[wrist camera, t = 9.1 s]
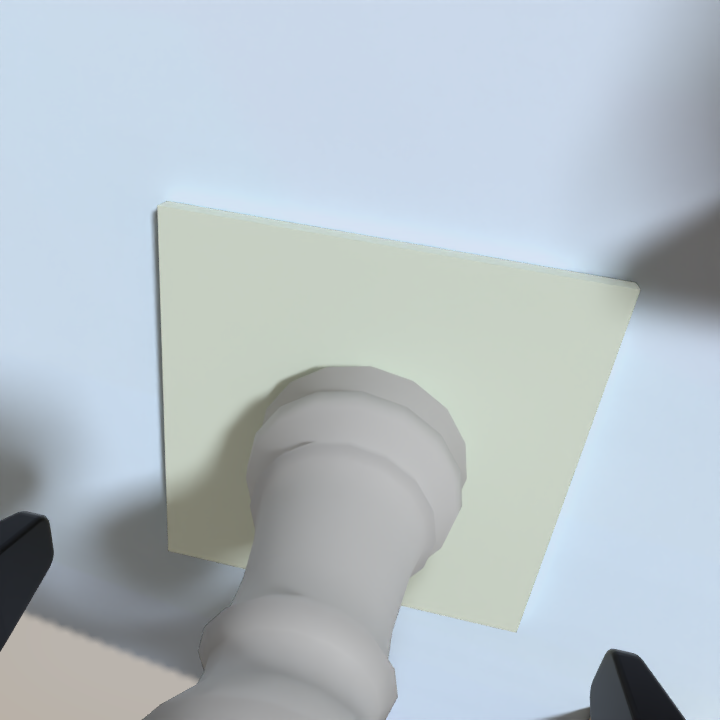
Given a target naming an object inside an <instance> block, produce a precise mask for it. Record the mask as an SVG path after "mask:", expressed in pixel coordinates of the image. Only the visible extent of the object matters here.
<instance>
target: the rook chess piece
mask: <svg viewBox="0 0 720 720" xmlns="http://www.w3.org/2000/svg"><path fill="white" fill-rule="evenodd" d="M466 480H467V471H466V443H465V442H464V440H463V438H462V436H461V434H460V432H459V430H458V428H457V426H456V425H455V423H454V421H453V419H452V417H451V415H450V413H449V411H448V409H447V408H446V407H444V406H443V405H442V404H441V403H440V402H438V401H437V400H436V399H435V398H433V397H432V396H431V395H430V394H429V393H427V392H426V391H425V390H424V389H423V388H421V387H420V386H419V385H418V384H416V383H415V382H414V381H412V380H409V379H406V378H403V377H400V376H398V375H395V374H392V373H389V372H386V371H383V370H380V369H378V368H375V367H372V366H344V367H325V368H323V369H321V370H318V371H316V372H313V373H311V374H309V375H306V376H304V377H301V378H299V379H297V380H294V381H292V382H290V383H289V384H288V385H287V386H286V388H285V389H284V390H283V391H282V392H281V393H280V394H279V395H278V396H277V397H276V399H275V400H274V401H273V402H272V403H271V404H270V405H269V406H268V407H267V409H266V413H265V416H264V420H263V424H262V427H261V428H260V429H259V430H258V431H257V432H256V434H255V438H254V442H253V446H252V450H251V454H250V458H249V462H248V465H247V474H246V481H247V485H248V490H249V494H250V499H251V503H250V509H251V514H252V518H253V523H254V527H255V535H254V541H253V544H252V548H251V552H250V555H249V559H248V562H247V566H246V570H245V573H244V577H243V580H242V582H241V584H240V586H239V588H238V591H237V593H236V595H235V597H234V599H233V601H232V604H231V606H229V607H227V608H225V609H224V610H223V611H222V612H220V613H219V614H218V615H217V616H216V617H215V618H214V619H213V620H211V621H210V622H209V623H208V624H207V625H206V626H205V627H204V630H203V634H202V638H201V642H200V646H199V650H198V653H199V656H200V659H201V663H202V666H203V669H204V673H203V675H202V677H201V678H200V680H199V681H198V683H197V685H195V686H193V687H191V688H189V689H188V690H186V691H184V692H182V693H180V694H179V695H177V696H175V697H173V698H171V699H170V700H168V701H166V702H164V703H162V704H161V705H159V706H158V707H157V708H156V709H155V710H153V711H152V712H151V713H150V714H149V715H147V716H146V717H145V718H144V719H142V720H386V718H387V716H388V714H389V712H390V710H391V709H392V707H393V705H394V703H395V701H396V699H397V697H398V695H397V686H396V677H395V669H394V668H393V666H392V665H391V663H390V662H389V660H388V656H389V650H390V644H391V637H392V631H393V628H394V625H395V622H396V618H397V615H398V612H399V609H400V606H401V603H402V600H403V597H404V594H405V591H406V588H407V585H408V582H409V579H410V577H412V576H413V575H414V574H416V573H417V572H418V571H420V570H421V569H422V568H424V566H425V564H426V562H427V559H428V558H429V557H430V556H431V555H433V554H434V553H435V552H437V551H438V550H439V549H441V547H442V545H443V543H444V542H445V540H446V538H447V536H448V534H449V532H450V530H451V528H452V526H453V524H454V522H455V520H456V518H457V516H458V514H459V512H460V510H461V508H462V488H463V486H464V484H465V482H466Z"/></svg>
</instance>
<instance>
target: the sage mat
mask: <svg viewBox="0 0 720 720" xmlns="http://www.w3.org/2000/svg"><path fill="white" fill-rule="evenodd" d="M157 210H158V242H159V274H160V306H161V338H162V370H163V402H164V434H165V466H166V498H167V530H168V551H171V552H175V553H179V554H183V555H188V556H192V557H196V558H200V559H205V560H209V561H213V562H217V563H222V564H226V565H230V566H235V567H239V568H243V569H246V566H247V562H248V559H249V555H250V552H251V548H252V544H253V541H254V535H255V527H254V523H253V518H252V514H251V509H250V503H251V499H250V494H249V490H248V485H247V481H246V474H247V465H248V462H249V458H250V454H251V450H252V446H253V442H254V438H255V434H256V432H257V431H258V430H259V429H260V428H261V427H262V424H263V420H264V416H265V413H266V409H267V407H268V406H269V405H270V404H271V403H272V402H273V401H274V400H275V399H276V397H277V396H278V395H279V394H280V393H281V392H282V391H283V390H284V389H285V388H286V386H287V385H288V384H289V383H290V382H292V381H294V380H297V379H299V378H301V377H304V376H306V375H309V374H311V373H313V372H316V371H318V370H321V369H323V368H325V367H344V366H372V367H375V368H378V369H380V370H383V371H386V372H389V373H392V374H395V375H398V376H400V377H403V378H406V379H409V380H412V381H414V382H415V383H416V384H418V385H419V386H420V387H421V388H423V389H424V390H425V391H426V392H427V393H429V394H430V395H431V396H432V397H433V398H435V399H436V400H437V401H438V402H440V403H441V404H442V405H443V406H444V407H446V408H447V409H448V411H449V413H450V415H451V417H452V419H453V421H454V423H455V425H456V426H457V428H458V430H459V432H460V434H461V436H462V438H463V440H464V442H465V443H466V471H467V480H466V482H465V484H464V486H463V488H462V508H461V510H460V512H459V514H458V516H457V518H456V520H455V522H454V524H453V526H452V528H451V530H450V532H449V534H448V536H447V538H446V540H445V542H444V543H443V545H442V547H441V549H439V550H438V551H437V552H435V553H434V554H433V555H431V556H430V557H429V558H428V559H427V562H426V564H425V566H424V568H422V569H421V570H420V571H418V572H417V573H416V574H414V575H413V576H412V577H410V579H409V582H408V585H407V588H406V591H405V594H404V597H403V600H402V603H401V606H405V607H409V608H414V609H418V610H422V611H426V612H431V613H435V614H439V615H443V616H448V617H452V618H456V619H460V620H465V621H469V622H473V623H478V624H482V625H486V626H490V627H495V628H499V629H503V630H507V631H512V632H517V630H518V627H519V624H520V621H521V618H522V616H523V613H524V610H525V607H526V605H527V602H528V599H529V596H530V594H531V591H532V588H533V585H534V583H535V580H536V577H537V574H538V572H539V569H540V566H541V563H542V561H543V558H544V555H545V552H546V549H547V547H548V544H549V541H550V538H551V536H552V533H553V530H554V527H555V525H556V522H557V519H558V516H559V514H560V511H561V508H562V505H563V503H564V500H565V497H566V494H567V492H568V489H569V486H570V483H571V480H572V478H573V475H574V472H575V469H576V467H577V464H578V461H579V458H580V456H581V453H582V450H583V447H584V445H585V442H586V439H587V436H588V434H589V431H590V428H591V425H592V423H593V420H594V417H595V414H596V412H597V409H598V406H599V403H600V400H601V398H602V395H603V392H604V389H605V387H606V384H607V381H608V378H609V376H610V373H611V370H612V367H613V365H614V362H615V359H616V356H617V354H618V351H619V348H620V345H621V343H622V340H623V337H624V334H625V331H626V329H627V326H628V323H629V320H630V318H631V315H632V312H633V309H634V307H635V304H636V301H637V298H638V296H639V293H640V288H639V287H638V285H637V284H636V282H630V281H624V280H618V279H613V278H607V277H601V276H595V275H590V274H584V273H578V272H572V271H567V270H561V269H555V268H549V267H544V266H538V265H532V264H526V263H521V262H515V261H509V260H503V259H498V258H492V257H486V256H480V255H475V254H469V253H463V252H457V251H452V250H446V249H440V248H434V247H429V246H423V245H417V244H411V243H406V242H400V241H394V240H388V239H383V238H377V237H371V236H365V235H360V234H354V233H348V232H342V231H337V230H331V229H325V228H319V227H314V226H308V225H302V224H296V223H291V222H285V221H279V220H273V219H268V218H262V217H256V216H250V215H245V214H239V213H233V212H227V211H222V210H216V209H210V208H204V207H199V206H193V205H187V204H181V203H176V202H170V201H166V202H164V203H161V204H159V205H157Z"/></svg>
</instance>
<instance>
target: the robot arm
mask: <svg viewBox="0 0 720 720" xmlns="http://www.w3.org/2000/svg"><path fill="white" fill-rule="evenodd" d="M53 555H54V549H53V543H52V536H51V530H50V523H49V520H48V519H47V517H46V516H44V515H40V514H36V513H31V512H26V511H22V512H18V513H16V514H14V515H12V516H9V517H7V518H5V519H3V520H1V521H0V651H1V650H2V648H3V646H4V645H5V643H6V641H7V640H8V638H9V636H10V635H11V633H12V631H13V630H14V628H15V626H16V624H17V623H18V621H19V619H20V618H21V616H22V614H23V612H24V611H25V609H26V607H27V606H28V604H29V602H30V600H31V599H32V597H33V595H34V594H35V592H36V590H37V588H38V587H39V585H40V583H41V582H42V580H43V578H44V576H45V575H46V573H47V571H48V570H49V568H50V566H51V563H52V560H53ZM590 713H591V720H686V719H685V718H684V716H683V715H682V714H681V712H680V711H679V710H678V708H677V707H676V705H675V704H674V703H673V701H672V700H671V698H670V697H669V696H668V694H667V693H666V692H665V690H664V689H663V687H662V686H661V685H660V683H659V682H658V681H657V679H656V678H655V676H654V675H653V674H652V672H651V671H650V669H649V668H648V667H647V665H646V664H645V663H644V661H643V660H642V659H641V658H640V657H639V656H638V655H636V654H634V653H630V652H626V651H622V650H617V649H610V650H608V651H607V653H606V654H605V656H604V658H603V660H602V662H601V664H600V667H599V669H598V671H597V673H596V675H595V677H594V679H593V682H592V685H591V690H590Z"/></svg>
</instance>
